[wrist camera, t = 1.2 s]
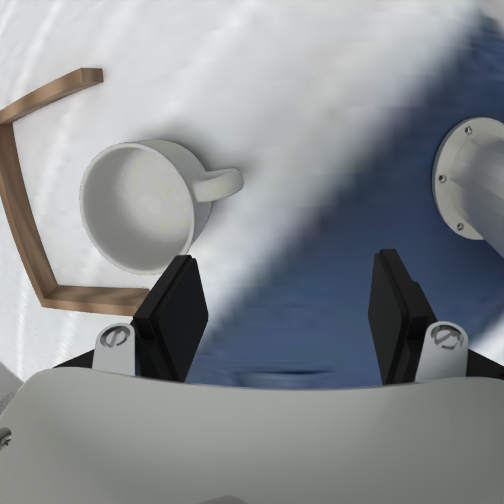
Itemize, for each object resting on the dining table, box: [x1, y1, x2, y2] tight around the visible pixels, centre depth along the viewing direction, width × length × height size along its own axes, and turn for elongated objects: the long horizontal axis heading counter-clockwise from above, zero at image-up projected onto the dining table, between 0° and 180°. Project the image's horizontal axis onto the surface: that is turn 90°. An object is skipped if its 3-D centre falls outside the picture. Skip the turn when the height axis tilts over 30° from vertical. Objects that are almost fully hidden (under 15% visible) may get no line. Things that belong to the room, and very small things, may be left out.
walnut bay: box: [0, 68, 149, 316], centre depth 30 cm, size 18×27×4 cm, turn 6°
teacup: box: [79, 140, 244, 275], centre depth 25 cm, size 14×11×8 cm
